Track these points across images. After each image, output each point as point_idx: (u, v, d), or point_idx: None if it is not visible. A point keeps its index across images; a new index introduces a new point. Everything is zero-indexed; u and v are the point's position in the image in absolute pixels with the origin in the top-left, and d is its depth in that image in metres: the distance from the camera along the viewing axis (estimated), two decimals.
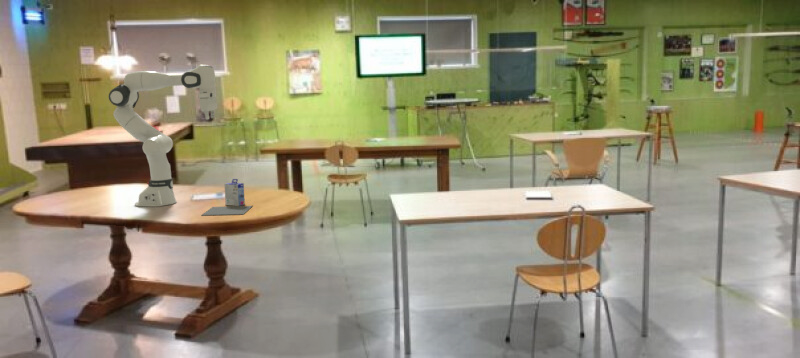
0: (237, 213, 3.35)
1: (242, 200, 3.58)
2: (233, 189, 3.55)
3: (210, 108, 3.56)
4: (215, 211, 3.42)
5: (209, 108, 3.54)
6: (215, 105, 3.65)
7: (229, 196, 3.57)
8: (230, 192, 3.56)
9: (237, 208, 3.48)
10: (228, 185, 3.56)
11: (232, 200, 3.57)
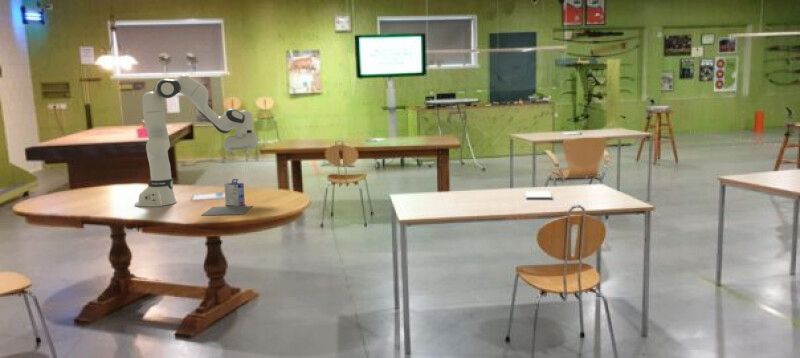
0: (237, 213, 3.35)
1: (242, 200, 3.58)
2: (233, 189, 3.55)
3: None
4: (215, 211, 3.42)
5: None
6: None
7: (229, 196, 3.57)
8: (230, 192, 3.56)
9: (237, 208, 3.48)
10: (228, 185, 3.56)
11: (232, 200, 3.57)
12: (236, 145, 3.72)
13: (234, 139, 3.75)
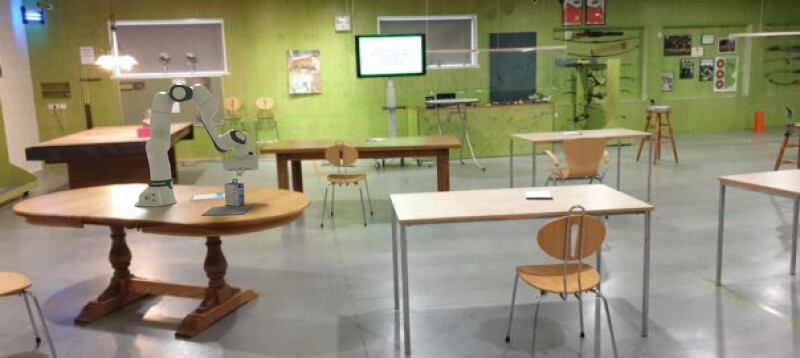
0: (237, 213, 3.35)
1: (242, 200, 3.58)
2: (233, 189, 3.55)
3: None
4: (215, 211, 3.42)
5: None
6: None
7: (229, 196, 3.57)
8: (230, 192, 3.56)
9: (237, 208, 3.48)
10: (228, 185, 3.56)
11: (232, 200, 3.57)
12: (237, 165, 3.71)
13: (234, 160, 3.74)
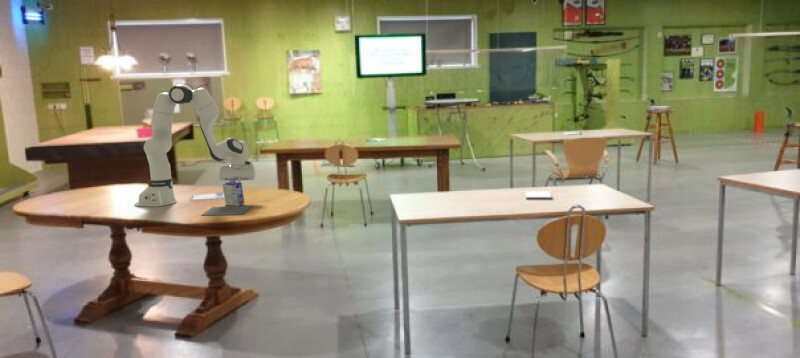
0: (237, 213, 3.35)
1: (242, 199, 3.57)
2: (232, 189, 3.54)
3: None
4: (215, 211, 3.42)
5: None
6: None
7: (228, 196, 3.56)
8: (229, 192, 3.55)
9: (237, 208, 3.48)
10: (226, 186, 3.55)
11: (232, 200, 3.56)
12: (233, 175, 3.62)
13: (230, 169, 3.65)
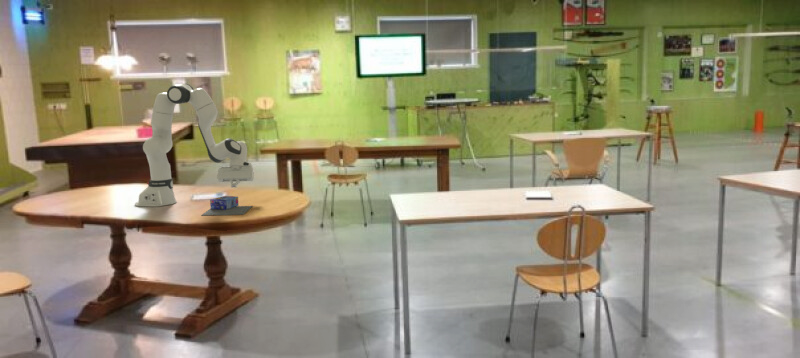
0: (237, 213, 3.35)
1: (235, 200, 3.52)
2: None
3: None
4: (215, 211, 3.42)
5: None
6: None
7: None
8: None
9: (237, 208, 3.48)
10: (215, 208, 3.48)
11: None
12: (231, 176, 3.59)
13: (229, 170, 3.62)
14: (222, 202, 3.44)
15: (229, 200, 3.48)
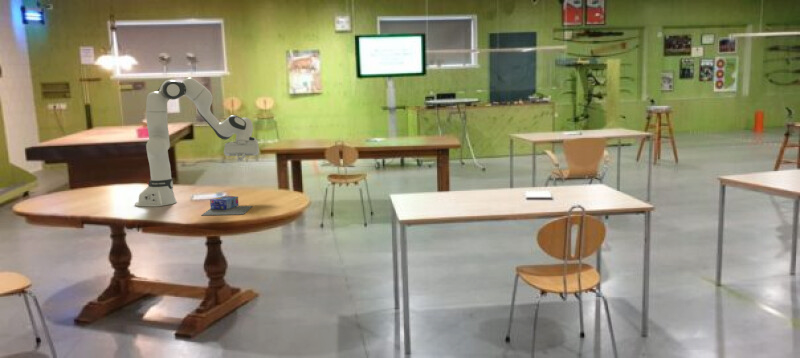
0: (237, 213, 3.35)
1: (235, 200, 3.52)
2: None
3: None
4: (215, 211, 3.42)
5: None
6: None
7: None
8: None
9: (237, 208, 3.48)
10: (215, 208, 3.48)
11: None
12: (237, 150, 3.73)
13: (235, 145, 3.76)
14: (222, 202, 3.44)
15: (229, 200, 3.48)
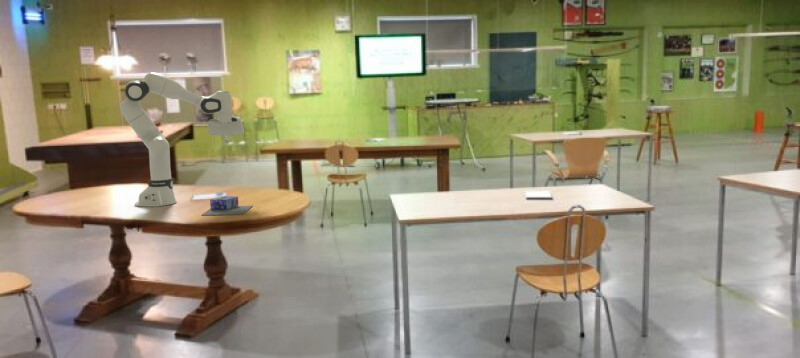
0: (237, 213, 3.35)
1: (235, 200, 3.52)
2: None
3: None
4: (215, 211, 3.42)
5: None
6: None
7: None
8: None
9: (237, 208, 3.48)
10: (215, 208, 3.48)
11: None
12: (222, 132, 3.72)
13: (219, 125, 3.71)
14: (222, 202, 3.44)
15: (229, 200, 3.48)
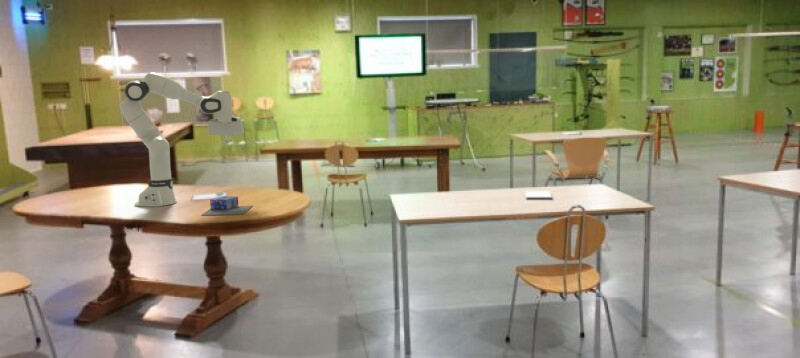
0: (237, 213, 3.35)
1: (235, 200, 3.52)
2: None
3: None
4: (215, 211, 3.42)
5: None
6: None
7: None
8: None
9: (237, 208, 3.48)
10: (215, 208, 3.48)
11: None
12: (222, 132, 3.72)
13: (219, 125, 3.71)
14: (222, 202, 3.44)
15: (229, 200, 3.48)
